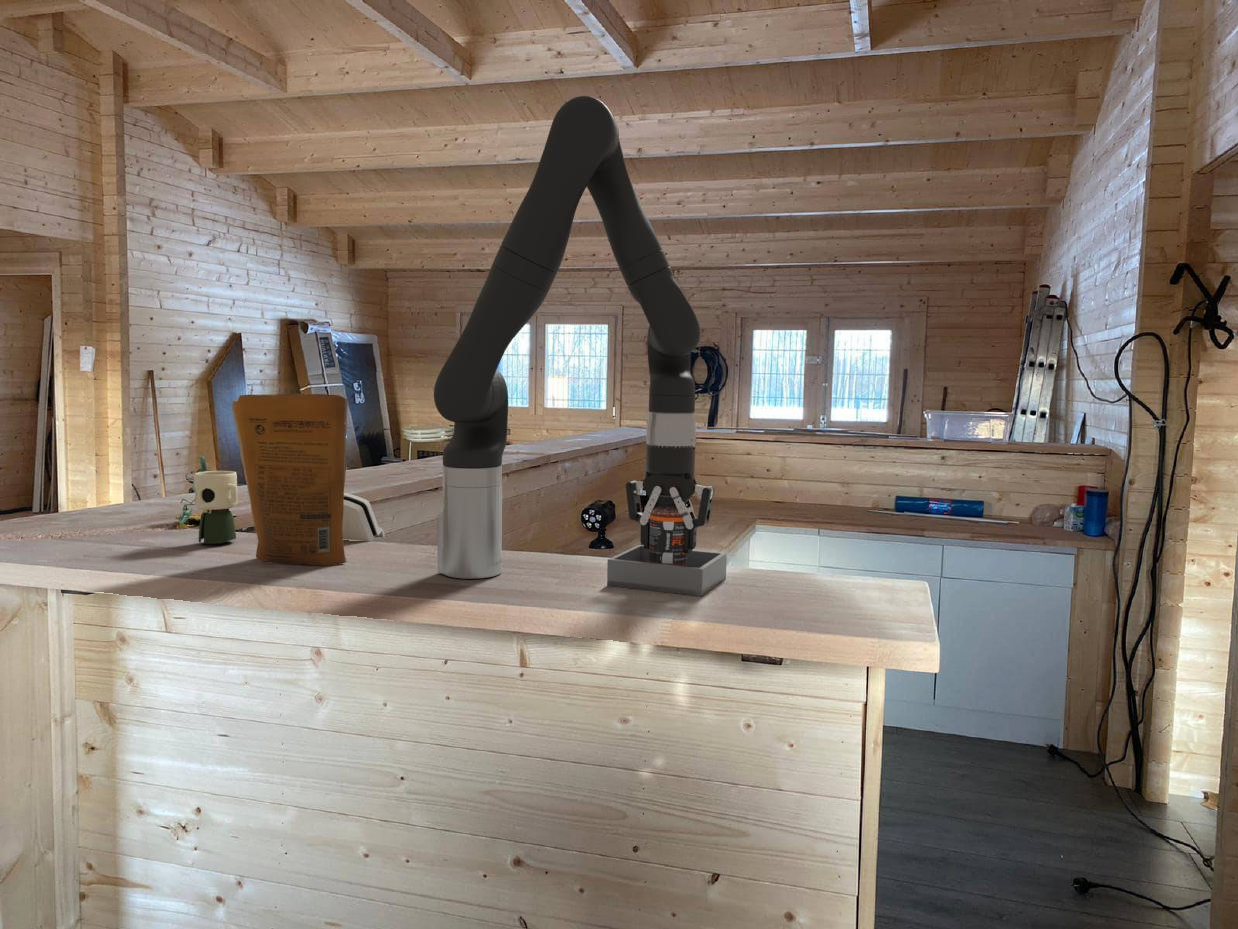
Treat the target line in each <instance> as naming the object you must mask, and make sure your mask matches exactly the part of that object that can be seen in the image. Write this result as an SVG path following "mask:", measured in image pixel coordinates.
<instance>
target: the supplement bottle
mask: <svg viewBox="0 0 1238 929" xmlns="http://www.w3.org/2000/svg"><path fill="white" fill-rule="evenodd" d="M657 503H658V504H657V505H656V506H655V508H654V509H653V510H652V512H651V513H650V534H649V563H657V564H666V565H676V566H686V561H687V553H684V529H686V525H685V523H684V521H683V516H680V514H679V512H678V509H677V507H676V504H675V502H674V500H673V498H672V496H668V495H660V496H659V499H658V501H657ZM681 508H682V507H681Z"/></svg>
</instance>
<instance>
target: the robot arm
mask: <svg viewBox="0 0 1238 929" xmlns="http://www.w3.org/2000/svg"><path fill="white" fill-rule="evenodd" d="M551 122H552V123H551V125H550V128H549V132H548V135H547V138H546V142H545V145H544V148H543V150H542V153H541V158H540V160H539V162H538V165H537V167H536V168H537V169H536V171H535V173H534V176H533V179H532V181H531V184H530V186H529V188H528V191H527V192H526V194H525V196H524V197H523V199H522V201H521V203H520V205H519V207H518V209H517V211H516V213H515V214H514V217H513V218H512V221H511V223H510V224H509V228H508V229H507V232H506V234H505V236H504V238H503V239H502V241H501V243H500V246H499V248H498V251H497V252H496V255H495V258H494V259H493V262H492V264H491V267H490V269H489V272H488V275H487V277H486V280H485V282H484V283H483V286H482V288H481V291H480V293H479V295H478V298H477V299H476V301H475V304H474V306H473V309H472V311H471V314H470V316H469V319H468V320H467V323H466V325H465V326H464V329H463V331H462V333H461V334H460V337H459V338H458V340H457V341H456V343H455V345H454V347H453V348H452V350H451V352H450V354H449V356H448V357H447V359H446V361H445V363H444V364H443V366H442V368H441V369H440V372H439V373H438V376H437V378H436V380H435V384H434V388H433V401H434V405H435V408H436V409H437V412H438V413H439V414H440V415H441V417H442V418H444V419H445V420H447V421H449V422H451V423H454V426H453V428H454V429H453V433H452V437H451V439H450V440H449V442H448V443H447V444H446V445H445V446H444V448H443V450H442V512H439V513H438V514H437V519H436V520H437V523H436V524H437V574H442V575H444V576H447V577H450V578H456V579H470V580H471V579H472V580H473V579H485V578H490V577H491V578H492V577H495V576H498V575H500V574H501V573H502V563H503V559H502V558H503V557H502V556H503V554H502V547H503V542H502V540H503V536H502V535H503V534H502V531H503V522H502V521H503V519H502V518H503V511H502V510H503V466H502V465H503V456H504V455H503V454H504V452H505V450H506V445H507V439H508V421H509V418H508V417H509V391H508V386H507V382H506V380H505V378H504V375H503V374H502V373H501V372H500V371H499V369H498V368H499V365H500V363H501V361H502V359H503V356H504V354H505V351H507V348H508V347H509V345H510V344H511V342H512V340H514V338H515V337H516V336H517V335H518V333H519V332H520V331H521V330H522V329H523V328H524V326H525V325H527V323H528V322H529V321H530V319H532V317H533V316H534V315H535V314H536V312H537V311H538V309H540V307H541V306H542V304H543V302H544V301H545V299H546V297H547V296H548V293H549V292H550V289H551V288H552V285H553V283H554V280H555V278H556V276H557V273H558V272H559V269H560V267H561V264H562V262H563V258H564V257H565V253H566V249H567V246H568V242H569V238H570V234H571V231H572V226H573V222H574V219H575V214H576V211H577V209H578V205H579V204H580V200H581V198H582V196H583V194H584V193H585V190H586V188H587V190H588V192H589V193H590V196H591V198H592V199H593V202H594V204H595V206H596V208H597V211H598V213H599V215H600V219H601V221H602V223H603V224H602V225H603V227H604V230H605V233H606V235H607V236H606V237H607V240H608V243H609V245H610V248H611V251H612V254H613V257H614V259H615V260H616V264H617V266H618V268H619V271H620V272H621V275H622V278H623V280H624V282H625V284H626V286H627V289H628V290H629V293H630V295H631V296H632V299H634V300H635V301H636V302H637V303H638V304H639V305H640V307H641V309H642V312H643V313H644V316H645V317H646V320H647V322H648V324H649V327H648V329H647V337H646V342H647V343H646V345H647V346H646V350H647V352H646V353H647V361H648V362H647V363H648V370H649V371H648V372H649V390H648V391H649V392H648V416H647V422H646V436H645V438H646V439H645V440H646V442H645V443H646V444H645V476H644V478H643V480H642V481H641V480H640V481H638V480H632V481H627V482H626V483H625V491H626V499H627V501H626V502H627V509H628V518H629V519H630V520H631V521H636V522H638V523H639V525H640V537H639V538H640V539H639V540H640V545H644V549H649V534H650V513H651V512H652V510H653V509H654V508H655V506H656V505H657V504H658V503H657V501H658V499H659V496H660V495H668V496H672V498H673V500H674V502H675V504H676V507H677V509H678V512H679V514H680V516H683V521H684V523H685V525H686V529H684V553H690V552H692V550H695V548H696V546H697V529H698V528H699V527H703V526H705V525H707V524H709V522H710V518H711V513H712V512H711V511H712V506H713V501H714V495H715V487H714V486H712V485H708V486H705V485H701V484H698V483H697V481H696V478H695V470H696V467H695V466H696V465H695V463H696V442H697V435H696V434H697V432H696V431H697V427H696V416H695V411H696V410H695V409H696V408H695V407H696V385H695V381H694V378H693V376H692V373H691V354H692V352H693V351H694V350H695V349H696V348H697V346H698V345H699V343H700V340H701V327H700V323H699V319H698V317H697V314H696V313H695V311H694V309H693V307H692V305H691V303H690V301H689V300H688V298H687V296H686V295H685V293H684V291H683V290H682V289H681V288H682V287H680V285H679V284H678V282H677V280H676V278H675V276H674V273H673V270H672V267H671V266H670V263H669V261H668V258H667V256H666V254H665V252H664V249H663V247H662V244H661V243H660V241H659V238H658V237H657V234H656V231H655V230H654V227H653V225H652V224H651V222H650V220H649V218H648V216H647V214H646V212H645V210H644V208H643V206H642V204H641V202H640V199H639V198H638V195H637V194H636V191H635V187H634V186H633V183H632V180H631V178H630V175H629V171H628V169H627V165H626V161H625V158H624V153H623V149H622V146H621V141H620V132H619V127H618V124H617V121H616V119H615V117H614V116H613V113H612V112H611V110H610V109H609V107H608V106H607V105H606V104H605V103H603V101H601V100H600V99H598V98H596V97H594V96H589V95H579V96H576V97H573V98H571V99H569V100H567V101H566V102H565V103H564V104H562V106H560V108H559V109H558V110H557V112H556V114H555V115H554V117H553V120H552V121H551ZM643 489H644V491H645V493H646V494H647V496H648V497H649V499H648V501H647V503H646V505H645V507H644V511H642V503H641V494H642V493H643ZM695 493H697V499H698V500H700V503H699V509H698V514H697V517H696V515H695V512H694V507H693V503H692V502H691V498H692V496H693V495H694V494H695ZM681 507H682V508H681Z"/></svg>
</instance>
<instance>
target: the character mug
mask: <svg viewBox="0 0 1238 929" xmlns="http://www.w3.org/2000/svg"><path fill="white" fill-rule="evenodd" d="M193 474H194V475H193V477H194V479H193V481H194V488H195V492H194V493H195V494H194V499H195V501H194V502H193V503H194V504H195V505H194V506H195V507H196V509H200V510H202V512H203V513H202V515H201V519H200V520H199V527H198V543H202V540H203V543H204V544H207V545H208V544H210V545H211V544H220V545H224V544H225V543H226V542H229V541H233V540H236V539H237V534H236V527H235V522H234V517H233V515H234V514H233V513H232V511H231V510H230V509H232V508H235V507H237V505H238V476H237V471H233V470H220V471H217V470H209V471H205V472H198V473H196V472H194V473H193ZM232 514H233V515H232Z"/></svg>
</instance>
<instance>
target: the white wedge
mask: <svg viewBox="0 0 1238 929" xmlns="http://www.w3.org/2000/svg"><path fill="white" fill-rule="evenodd" d="M343 508H344V514H343V522H342V532H343V540H352V541H363V542H372V541H373V540H375V537H376V538H377V537H378V538H385V532H384V529H383V527H380V526H379V524H378V521H377V519H376V516H375V512H374V510H373V508H372V504H371V503H370V502H369V500H367V499H365V498H362V497H360V496H358V495H355V494H351V493H348V492H344V505H343Z"/></svg>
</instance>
